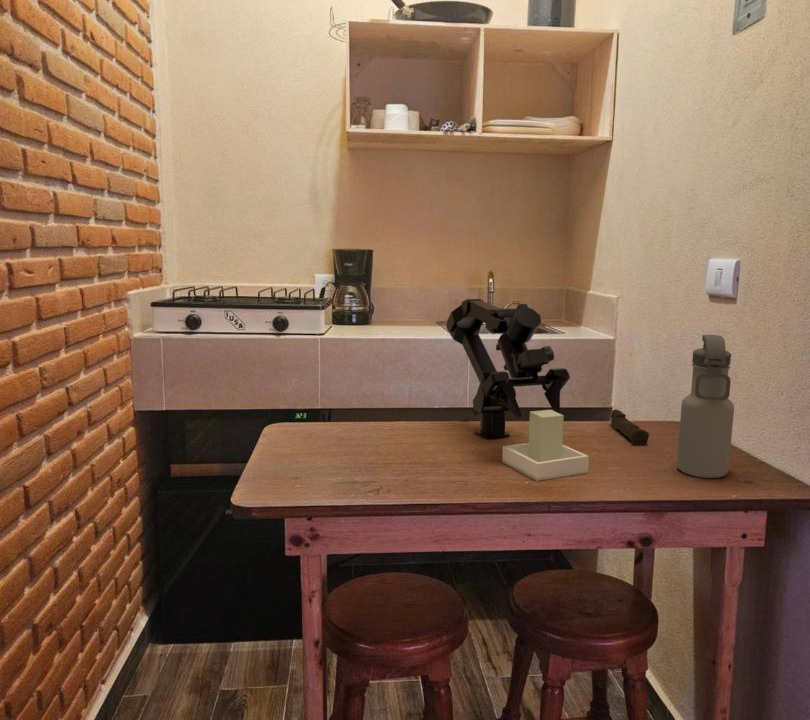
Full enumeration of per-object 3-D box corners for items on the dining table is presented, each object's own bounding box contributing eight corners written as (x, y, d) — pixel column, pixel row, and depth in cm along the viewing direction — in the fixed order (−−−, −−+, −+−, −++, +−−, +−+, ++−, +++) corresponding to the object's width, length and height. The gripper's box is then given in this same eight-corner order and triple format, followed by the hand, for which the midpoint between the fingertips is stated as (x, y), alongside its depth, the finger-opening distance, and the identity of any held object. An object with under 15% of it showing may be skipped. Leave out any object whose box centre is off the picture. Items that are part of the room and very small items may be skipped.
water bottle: (732, 482, 132) (745, 341, 127) (678, 477, 134) (689, 339, 130) (723, 466, 141) (735, 334, 136) (674, 461, 144) (684, 332, 139)
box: (502, 462, 143) (502, 446, 143) (550, 454, 148) (551, 439, 148) (536, 481, 132) (537, 464, 131) (587, 472, 137) (588, 456, 136)
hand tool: (648, 446, 155) (650, 427, 155) (631, 446, 155) (633, 427, 155) (622, 425, 174) (623, 407, 173) (607, 425, 174) (608, 407, 173)
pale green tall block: (527, 462, 141) (529, 411, 139) (548, 459, 143) (550, 409, 141) (539, 469, 137) (542, 417, 135) (561, 467, 138) (563, 415, 136)
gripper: (490, 335, 140) (513, 398, 131) (568, 331, 146) (594, 392, 137) (473, 365, 148) (494, 426, 140) (547, 361, 154) (571, 419, 146)
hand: (539, 415), depth 141 cm, fingers open, 9 cm apart
